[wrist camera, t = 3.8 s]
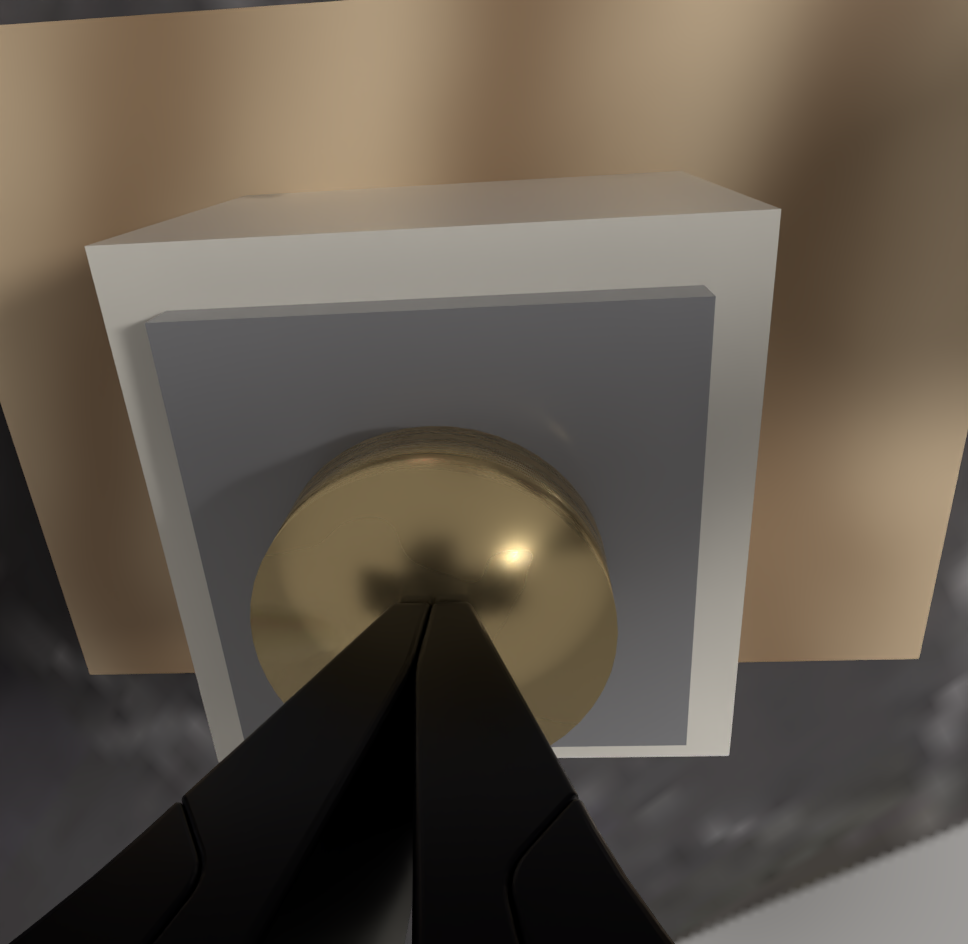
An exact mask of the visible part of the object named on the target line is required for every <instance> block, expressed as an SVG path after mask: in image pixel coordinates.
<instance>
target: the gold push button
mask: <svg viewBox="0 0 968 944" xmlns="http://www.w3.org/2000/svg"><path fill="white" fill-rule="evenodd" d="M589 291H590V290H589ZM438 602H468V603H470V604H471V605H472V606H473V608H474V610H475V612H476V613H477V615H478V617H479V619H480V621H481V622H482V624H483V626H484V628H485V630H486V631H487V633H488V635H489V637H490V638H491V640H492V642H493V644H494V646H495V647H496V649H497V651H498V653H499V655H500V656H501V658H502V660H503V662H504V664H505V665H506V667H507V669H508V671H509V672H510V674H511V676H512V678H513V680H514V681H515V683H516V685H517V687H518V689H519V690H520V692H521V694H522V696H523V698H524V699H525V701H526V703H527V705H528V707H529V708H530V710H531V712H532V714H533V715H534V717H535V719H536V721H537V723H538V724H539V726H540V728H541V730H542V732H543V733H544V735H545V737H546V739H547V741H548V742H549V744H550V746H551V745H552V744H553V743H555V742H556V741H558V740H559V739H561V738H562V737H564V736H565V735H566V734H567V733H568V732H569V731H571V730H572V729H573V728H574V727H575V726H576V725H577V724H578V723H579V722H580V721H581V720H582V719H583V718H584V717H585V715H586V714H587V713H588V712H589V711H590V710H591V708H592V707H593V706H594V704H595V702H596V701H597V699H598V698H599V696H600V695H601V693H602V691H603V690H604V687H605V685H606V683H607V680H608V678H609V676H610V673H611V671H612V667H613V663H614V659H615V655H616V648H617V638H618V626H617V612H616V607H615V602H614V597H613V591H612V586H611V581H610V576H609V571H608V566H607V560H606V555H605V551H604V546H603V542H602V537H601V534H600V532H599V529H598V527H597V524H596V522H595V519H594V517H593V515H592V513H591V512H590V510H589V508H588V506H587V505H586V503H585V501H584V500H583V498H582V497H581V496H580V495H579V493H578V492H577V491H576V489H575V488H574V487H573V486H572V484H571V483H570V482H569V481H568V480H567V479H566V478H565V477H564V476H563V475H562V474H561V473H560V472H559V471H557V470H556V469H555V468H554V467H553V466H551V465H550V464H549V463H547V462H546V461H545V460H543V459H542V458H541V457H539V456H538V455H536V454H534V453H532V452H531V451H529V450H527V449H525V448H524V447H522V446H520V445H518V444H516V443H513V442H511V441H508V440H506V439H503V438H501V437H499V436H496V435H492V434H488V433H485V432H481V431H477V430H472V429H466V428H459V427H451V426H423V427H413V428H405V429H400V430H396V431H392V432H387V433H383V434H380V435H378V436H375V437H372V438H370V439H367V440H364V441H362V442H360V443H358V444H356V445H354V446H353V447H351V448H349V449H347V450H345V451H343V452H342V453H341V454H339V455H338V456H336V457H335V458H334V459H332V460H331V461H329V462H328V463H327V464H326V465H325V466H324V467H323V468H322V469H321V470H319V471H318V472H317V473H316V474H315V475H314V476H313V477H312V478H311V480H310V481H309V482H308V484H307V485H306V486H305V488H304V489H303V490H302V492H301V493H300V494H299V496H298V498H297V500H296V501H295V503H294V505H293V507H292V508H291V510H290V512H289V514H288V515H287V517H286V519H285V521H284V522H283V524H282V526H281V528H280V529H279V531H278V533H277V535H276V536H275V538H274V540H273V542H272V543H271V545H270V547H269V549H268V551H267V553H266V554H265V556H264V558H263V560H262V562H261V564H260V567H259V570H258V572H257V575H256V578H255V581H254V585H253V591H252V596H251V604H250V624H251V631H252V638H253V643H254V647H255V650H256V653H257V657H258V660H259V662H260V665H261V667H262V669H263V671H264V673H265V675H266V678H267V679H268V681H269V683H270V684H271V686H272V687H273V689H274V691H275V692H276V694H277V695H278V697H279V698H280V699H281V700H282V701H283V703H285V702H286V701H288V700H289V699H290V698H291V697H292V696H293V695H294V694H295V693H296V692H297V691H298V690H300V689H301V688H302V687H303V686H304V685H305V684H306V683H307V682H308V681H309V680H310V679H312V678H313V677H314V676H315V675H316V674H317V673H318V672H319V671H320V670H321V669H322V668H324V667H325V666H326V665H327V664H328V663H329V662H330V661H331V660H332V659H333V658H334V657H336V656H337V655H338V654H339V653H340V652H341V651H342V650H343V649H344V648H345V647H346V646H348V645H349V644H350V643H351V642H352V641H353V640H354V639H355V638H356V637H357V636H358V635H360V634H361V633H362V632H363V631H364V630H365V629H366V628H367V627H368V626H369V625H370V624H372V623H373V622H374V621H375V620H376V619H377V618H378V617H379V616H380V615H381V614H382V613H384V612H385V611H386V610H387V609H388V608H389V607H390V606H392V605H393V604H396V603H428V604H429V605H430V606H431V608H432V606H433V605H434V604H435V603H438Z"/></svg>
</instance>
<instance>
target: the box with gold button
mask: <svg viewBox="0 0 968 944" xmlns="http://www.w3.org/2000/svg"><path fill="white" fill-rule="evenodd" d="M780 218H781V209H780V208H778V207H775V206H772V205H770V204H767V203H764V202H762V201H759V200H756V199H754V198H751V197H749V196H746V195H743V194H741V193H738V192H735V191H733V190H730V189H728V188H725V187H722V186H720V185H717V184H714V183H712V182H709V181H706V180H704V179H701V178H699V177H696V176H693V175H691V174H688V173H685V172H683V171H668V172H650V173H633V174H615V175H597V176H580V177H562V178H544V179H527V180H509V181H492V182H474V183H456V184H439V185H421V186H403V187H386V188H368V189H350V190H333V191H315V192H298V193H280V194H262V195H246V196H242V197H239V198H236V199H233V200H230V201H227V202H223V203H220V204H217V205H214V206H211V207H207V208H204V209H201V210H198V211H195V212H192V213H188V214H185V215H182V216H179V217H176V218H172V219H169V220H166V221H163V222H160V223H157V224H153V225H150V226H147V227H144V228H141V229H137V230H134V231H131V232H128V233H125V234H122V235H118V236H115V237H112V238H109V239H106V240H102V241H99V242H96V243H93V244H90V245H87V246H85V250H86V254H87V258H88V262H89V266H90V269H91V273H92V277H93V281H94V285H95V289H96V293H97V296H98V300H99V304H100V308H101V312H102V316H103V320H104V323H105V327H106V331H107V335H108V339H109V343H110V346H111V350H112V354H113V358H114V362H115V366H116V370H117V373H118V377H119V381H120V385H121V389H122V393H123V397H124V400H125V404H126V408H127V412H128V416H129V420H130V423H131V427H132V431H133V435H134V439H135V443H136V447H137V450H138V454H139V458H140V462H141V466H142V470H143V474H144V477H145V481H146V485H147V489H148V493H149V497H150V500H151V504H152V508H153V512H154V516H155V520H156V524H157V527H158V531H159V535H160V539H161V543H162V547H163V551H164V554H165V558H166V562H167V566H168V570H169V574H170V577H171V581H172V585H173V589H174V593H175V597H176V601H177V604H178V608H179V612H180V616H181V620H182V624H183V628H184V631H185V635H186V639H187V643H188V647H189V651H190V654H191V658H192V662H193V666H194V670H195V674H196V678H197V681H198V685H199V689H200V693H201V697H202V701H203V705H204V708H205V712H206V716H207V720H208V724H209V728H210V731H211V735H212V739H213V743H214V747H215V751H216V755H217V758H218V762H221V761H222V760H223V759H224V758H225V757H226V756H228V755H229V754H230V753H231V752H232V751H233V750H234V749H235V748H236V747H237V746H238V745H240V744H241V743H242V742H243V741H244V740H245V739H246V738H247V737H248V736H249V735H250V734H252V733H253V732H254V731H255V730H256V729H257V728H258V727H259V726H260V725H261V724H262V723H264V722H265V721H266V720H267V719H268V718H269V717H270V716H271V715H272V714H273V713H274V712H276V711H277V710H278V709H279V708H280V707H281V706H282V705H283V704H284V703H283V701H282V700H281V699H280V698H279V697H278V695H277V694H276V692H275V691H274V689H273V687H272V686H271V684H270V683H269V681H268V679H267V678H266V675H265V673H264V671H263V669H262V667H261V665H260V662H259V660H258V657H257V653H256V650H255V647H254V643H253V638H252V631H251V624H250V604H251V596H252V591H253V585H254V581H255V578H256V575H257V572H258V570H259V567H260V564H261V562H262V560H263V558H264V556H265V554H266V553H267V551H268V549H269V547H270V545H271V543H272V542H273V540H274V538H275V536H276V535H277V533H278V531H279V529H280V528H281V526H282V524H283V522H284V521H285V519H286V517H287V515H288V514H289V512H290V510H291V508H292V507H293V505H294V503H295V501H296V500H297V498H298V496H299V494H300V493H301V492H302V490H303V489H304V488H305V486H306V485H307V484H308V482H309V481H310V480H311V478H312V477H313V476H314V475H315V474H316V473H317V472H318V471H319V470H321V469H322V468H323V467H324V466H325V465H326V464H327V463H328V462H329V461H331V460H332V459H334V458H335V457H336V456H338V455H339V454H341V453H342V452H343V451H345V450H347V449H349V448H351V447H353V446H354V445H356V444H358V443H360V442H362V441H364V440H367V439H370V438H372V437H375V436H378V435H380V434H383V433H387V432H392V431H396V430H400V429H405V428H413V427H423V426H451V427H459V428H466V429H472V430H477V431H481V432H485V433H488V434H492V435H496V436H499V437H501V438H503V439H506V440H508V441H511V442H513V443H516V444H518V445H520V446H522V447H524V448H525V449H527V450H529V451H531V452H532V453H534V454H536V455H538V456H539V457H541V458H542V459H543V460H545V461H546V462H547V463H549V464H550V465H551V466H553V467H554V468H555V469H556V470H557V471H559V472H560V473H561V474H562V475H563V476H564V477H565V478H566V479H567V480H568V481H569V482H570V483H571V484H572V486H573V487H574V488H575V489H576V491H577V492H578V493H579V495H580V496H581V497H582V498H583V500H584V501H585V503H586V505H587V506H588V508H589V510H590V512H591V513H592V515H593V517H594V519H595V522H596V524H597V527H598V529H599V532H600V534H601V537H602V542H603V546H604V551H605V555H606V560H607V566H608V571H609V576H610V581H611V586H612V591H613V597H614V602H615V607H616V612H617V626H618V638H617V648H616V655H615V659H614V663H613V667H612V671H611V673H610V676H609V678H608V680H607V683H606V685H605V687H604V690H603V691H602V693H601V695H600V696H599V698H598V699H597V701H596V702H595V704H594V706H593V707H592V708H591V710H590V711H589V712H588V713H587V714H586V715H585V717H584V718H583V719H582V720H581V721H580V722H579V723H578V724H577V725H576V726H575V727H574V728H573V729H572V730H571V731H569V732H568V733H567V734H566V735H565V736H564V737H562V738H561V739H559V740H558V741H556V742H555V743H553V744H552V745H551V748H552V749H553V751H554V753H555V755H556V757H557V758H590V757H671V756H729V751H730V741H731V730H732V720H733V709H734V699H735V688H736V678H737V667H738V657H739V647H740V636H741V626H742V615H743V605H744V594H745V584H746V573H747V563H748V553H749V542H750V532H751V521H752V511H753V500H754V490H755V479H756V469H757V459H758V448H759V438H760V427H761V417H762V406H763V396H764V385H765V375H766V364H767V354H768V344H769V333H770V323H771V312H772V302H773V291H774V281H775V270H776V260H777V250H778V239H779V229H780ZM589 290H590V291H589Z"/></svg>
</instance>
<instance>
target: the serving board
mask: <svg viewBox="0 0 968 944" xmlns="http://www.w3.org/2000/svg"><path fill="white" fill-rule="evenodd" d="M668 171H683V172H685V173H688V174H691V175H693V176H696V177H699V178H701V179H704V180H706V181H709V182H712V183H714V184H717V185H720V186H722V187H725V188H728V189H730V190H733V191H735V192H738V193H741V194H743V195H746V196H749V197H751V198H754V199H756V200H759V201H762V202H764V203H767V204H770V205H772V206H775V207H778V208H780V209H781V218H780V229H779V239H778V250H777V260H776V270H775V281H774V291H773V302H772V312H771V323H770V333H769V344H768V354H767V364H766V375H765V385H764V396H763V406H762V417H761V427H760V438H759V448H758V459H757V469H756V479H755V490H754V500H753V511H752V521H751V532H750V542H749V553H748V563H747V573H746V584H745V594H744V605H743V615H742V626H741V636H740V647H739V657H738V662H777V661H829V660H880V659H919V656H920V652H921V647H922V642H923V637H924V633H925V628H926V623H927V619H928V614H929V609H930V605H931V600H932V595H933V591H934V586H935V581H936V576H937V572H938V567H939V562H940V558H941V553H942V548H943V544H944V539H945V534H946V530H947V525H948V520H949V515H950V511H951V506H952V501H953V497H954V492H955V487H956V483H957V478H958V473H959V469H960V464H961V459H962V454H963V450H964V445H965V440H966V436H967V431H968V0H346V1H332V2H318V3H304V4H290V5H276V6H262V7H248V8H234V9H220V10H206V11H192V12H178V13H164V14H150V15H136V16H122V17H108V18H94V19H80V20H66V21H52V22H38V23H24V24H10V25H0V403H1V406H2V409H3V412H4V415H5V418H6V421H7V424H8V427H9V430H10V433H11V436H12V440H13V443H14V446H15V449H16V452H17V455H18V458H19V461H20V464H21V467H22V470H23V473H24V476H25V479H26V482H27V485H28V488H29V491H30V494H31V497H32V500H33V503H34V506H35V509H36V512H37V515H38V518H39V522H40V525H41V528H42V531H43V534H44V537H45V540H46V543H47V546H48V549H49V552H50V555H51V558H52V561H53V564H54V567H55V570H56V573H57V576H58V579H59V582H60V585H61V588H62V591H63V594H64V597H65V600H66V604H67V607H68V610H69V613H70V616H71V619H72V622H73V625H74V628H75V631H76V634H77V637H78V640H79V643H80V646H81V649H82V652H83V655H84V658H85V661H86V664H87V667H88V670H89V673H90V675H105V674H157V673H195V670H194V666H193V662H192V658H191V654H190V651H189V647H188V643H187V639H186V635H185V631H184V628H183V624H182V620H181V616H180V612H179V608H178V604H177V601H176V597H175V593H174V589H173V585H172V581H171V577H170V574H169V570H168V566H167V562H166V558H165V554H164V551H163V547H162V543H161V539H160V535H159V531H158V527H157V524H156V520H155V516H154V512H153V508H152V504H151V500H150V497H149V493H148V489H147V485H146V481H145V477H144V474H143V470H142V466H141V462H140V458H139V454H138V450H137V447H136V443H135V439H134V435H133V431H132V427H131V423H130V420H129V416H128V412H127V408H126V404H125V400H124V397H123V393H122V389H121V385H120V381H119V377H118V373H117V370H116V366H115V362H114V358H113V354H112V350H111V346H110V343H109V339H108V335H107V331H106V327H105V323H104V320H103V316H102V312H101V308H100V304H99V300H98V296H97V293H96V289H95V285H94V281H93V277H92V273H91V269H90V266H89V262H88V258H87V254H86V250H85V246H87V245H90V244H93V243H96V242H99V241H102V240H106V239H109V238H112V237H115V236H118V235H122V234H125V233H128V232H131V231H134V230H137V229H141V228H144V227H147V226H150V225H153V224H157V223H160V222H163V221H166V220H169V219H172V218H176V217H179V216H182V215H185V214H188V213H192V212H195V211H198V210H201V209H204V208H207V207H211V206H214V205H217V204H220V203H223V202H227V201H230V200H233V199H236V198H239V197H242V196H246V195H262V194H280V193H298V192H315V191H333V190H350V189H368V188H386V187H403V186H421V185H439V184H456V183H474V182H492V181H509V180H527V179H544V178H562V177H580V176H597V175H615V174H633V173H650V172H668Z"/></svg>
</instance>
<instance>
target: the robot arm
mask: <svg viewBox="0 0 968 944" xmlns="http://www.w3.org/2000/svg"><path fill="white" fill-rule="evenodd" d="M182 804H183V805H182ZM411 908H412V944H675V943H674V942H673V941H672V939H671V938H670V937H669V935H668V934H667V933H666V931H665V930H664V929H663V927H662V926H661V925H660V923H659V922H658V920H657V919H656V918H655V916H654V915H653V913H652V912H651V911H650V909H649V908H648V906H647V905H646V903H645V902H644V901H643V899H642V898H641V896H640V895H639V894H638V892H637V891H636V889H635V888H634V887H633V885H632V884H631V882H630V881H629V880H628V878H627V877H626V875H625V873H624V872H623V870H622V869H621V867H620V865H619V864H618V862H617V860H616V859H615V857H614V855H613V854H612V852H611V851H610V849H609V847H608V846H607V844H606V842H605V841H604V839H603V837H602V836H601V834H600V833H599V831H598V829H597V827H596V826H595V824H594V822H593V820H592V818H591V817H590V815H589V813H588V811H587V809H586V808H585V806H584V804H583V802H582V801H581V800H578V794H577V792H576V791H575V789H574V787H573V785H572V783H571V782H570V780H569V778H568V776H567V775H566V773H565V771H564V769H563V767H562V766H561V764H560V762H559V760H558V758H557V757H556V755H555V753H554V751H553V749H552V748H551V746H550V744H549V742H548V741H547V739H546V737H545V735H544V733H543V732H542V730H541V728H540V726H539V724H538V723H537V721H536V719H535V717H534V715H533V714H532V712H531V710H530V708H529V707H528V705H527V703H526V701H525V699H524V698H523V696H522V694H521V692H520V690H519V689H518V687H517V685H516V683H515V681H514V680H513V678H512V676H511V674H510V672H509V671H508V669H507V667H506V665H505V664H504V662H503V660H502V658H501V656H500V655H499V653H498V651H497V649H496V647H495V646H494V644H493V642H492V640H491V638H490V637H489V635H488V633H487V631H486V630H485V628H484V626H483V624H482V622H481V621H480V619H479V617H478V615H477V613H476V612H475V610H474V608H473V606H472V605H471V604H470V603H468V602H438V603H435V604H434V605H433V606H432V608H431V606H430V605H429V604H428V603H396V604H393V605H392V606H390V607H389V608H388V609H387V610H386V611H385V612H384V613H382V614H381V615H380V616H379V617H378V618H377V619H376V620H375V621H374V622H373V623H372V624H370V625H369V626H368V627H367V628H366V629H365V630H364V631H363V632H362V633H361V634H360V635H358V636H357V637H356V638H355V639H354V640H353V641H352V642H351V643H350V644H349V645H348V646H346V647H345V648H344V649H343V650H342V651H341V652H340V653H339V654H338V655H337V656H336V657H334V658H333V659H332V660H331V661H330V662H329V663H328V664H327V665H326V666H325V667H324V668H322V669H321V670H320V671H319V672H318V673H317V674H316V675H315V676H314V677H313V678H312V679H310V680H309V681H308V682H307V683H306V684H305V685H304V686H303V687H302V688H301V689H300V690H298V691H297V692H296V693H295V694H294V695H293V696H292V697H291V698H290V699H289V700H288V701H286V702H285V703H284V704H283V705H282V706H281V707H280V708H279V709H278V710H277V711H276V712H274V713H273V714H272V715H271V716H270V717H269V718H268V719H267V720H266V721H265V722H264V723H262V724H261V725H260V726H259V727H258V728H257V729H256V730H255V731H254V732H253V733H252V734H250V735H249V736H248V737H247V738H246V739H245V740H244V741H243V742H242V743H241V744H240V745H238V746H237V747H236V748H235V749H234V750H233V751H232V752H231V753H230V754H229V755H228V756H226V757H225V758H224V759H223V760H222V761H221V762H220V763H219V764H218V765H217V766H216V767H214V768H213V769H212V770H211V771H210V772H209V773H208V774H207V775H206V776H205V777H204V778H202V779H201V780H200V781H199V782H198V783H197V784H196V785H195V786H194V787H193V788H192V789H190V790H189V791H188V792H187V793H186V794H185V795H184V796H183V798H182V803H175V804H174V805H173V806H171V807H170V808H169V809H168V810H167V811H166V812H165V813H164V814H163V815H162V816H161V817H159V818H158V819H157V820H156V821H155V822H154V823H153V824H152V825H151V826H150V827H148V828H147V829H146V830H145V831H144V832H143V833H142V834H141V835H140V836H138V837H137V838H136V839H135V840H134V841H133V842H132V843H130V844H129V845H128V846H127V847H126V848H125V849H124V850H122V851H121V852H120V853H119V854H118V855H117V856H116V857H114V858H113V859H112V860H111V861H110V862H109V863H108V864H106V865H105V866H104V867H103V868H102V869H101V870H100V871H98V872H97V873H96V874H95V875H94V876H93V877H91V878H90V879H89V880H88V881H86V882H85V883H84V884H83V885H81V886H80V887H79V888H78V889H77V890H75V891H74V892H73V893H72V894H70V895H69V896H68V897H67V898H65V899H64V900H63V901H62V902H60V903H59V904H58V905H57V906H56V907H54V908H53V909H52V910H51V911H49V912H48V913H47V914H46V915H44V916H43V917H42V918H41V919H39V920H38V921H37V922H36V923H34V924H33V925H32V926H31V927H29V928H28V929H27V930H26V931H24V932H23V933H22V934H21V935H19V936H18V937H17V938H15V939H14V940H13V941H12V942H10V943H9V944H405V939H406V933H407V928H408V923H409V918H410V913H411Z"/></svg>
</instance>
